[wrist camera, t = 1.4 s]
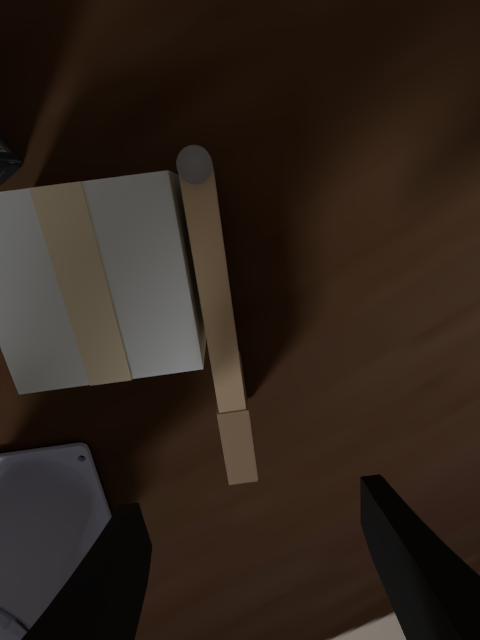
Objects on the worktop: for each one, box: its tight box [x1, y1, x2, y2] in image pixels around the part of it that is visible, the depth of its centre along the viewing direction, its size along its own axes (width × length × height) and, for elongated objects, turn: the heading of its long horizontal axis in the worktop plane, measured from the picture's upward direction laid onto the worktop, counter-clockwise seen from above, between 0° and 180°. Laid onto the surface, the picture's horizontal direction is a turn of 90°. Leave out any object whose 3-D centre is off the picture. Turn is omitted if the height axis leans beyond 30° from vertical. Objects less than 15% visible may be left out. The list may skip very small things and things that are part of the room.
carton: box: [0, 170, 206, 394], centre depth 17 cm, size 8×8×6 cm
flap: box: [176, 145, 258, 485], centre depth 17 cm, size 15×1×7 cm, turn 7°
